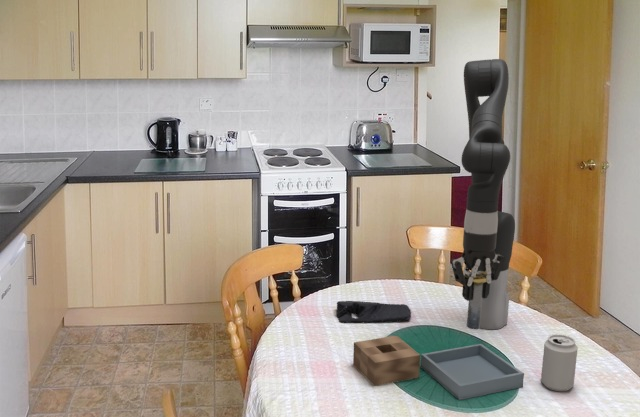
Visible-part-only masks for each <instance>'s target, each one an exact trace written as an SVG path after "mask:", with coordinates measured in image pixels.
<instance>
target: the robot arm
mask: <svg viewBox="0 0 640 417" xmlns="http://www.w3.org/2000/svg"><path fill="white" fill-rule="evenodd" d="M509 81H510V78H509V69H508V65H507V61H505V60H504V59H501V58H494V59H480V60H470V61H467V62H466V63H465V65H464V68H463V83H464V84H463V85H464V86H463V87H464V95H465V100H466V101H465V103H466V110H467V121H468V137H469V138H468V141H467V142H466V144H465V146H464V147H463V151H462V152H461V153H462V155H461V165H462V168H463V169H464V170H465V171H466V172H467V173H470V175H471V184H470V185H469V186H468V189H467V195H466V196H467V197H466V210H465V215H464V221H463V237H462V249H463V251H462V254H461V257H459V258H451V260H450V264H451V267H452V271H453V272H452V273H453V276H454V280H455V282H457V283H459V284H460V285H462V292H461V296H462V298H463V299H464V300H466V301H467V302H469V301H470V300H471V296H472V286H471V285H472V282H473V278H474V277H475V276H476V274H481V275H484V276H485V277H486V278H487V280H486V282H485V283H483V292H482V304H481V316H480V328H479V329H483V330H484V329H485V330H498V329H501V328H503V327H504V326H507V325H508V320H509V319H508V317H509V307H510V305H509V304H510V293H509V292H508V281H509V280H508V279H509V270H510V267H509V266H510V262H511V260H512V259H511V258H512V254H513V247H514V246H513V245H514V239H515V232H516V231H515V230H516V222H515V217H514V216H513V215H512V214H511V213H508V212H503V211H500V210H498V209H499V198H500V191H501V186H502V183H503V180H504V177H505V175H506V172H507V169H508V168H509V164H510V161H511V151H510V149H509V148H508V146H507V145H506V144H505V141H504V139H503V116H504V115H503V114H504V109H505V105H506V101H507V95H508V91H509V90H508V89H509ZM480 97H481V98H483V97H487V98H486V99H485V100H484V101H483V102H482V103H481V102H480V100H479V99H480Z"/></svg>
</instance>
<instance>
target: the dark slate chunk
mask: <svg viewBox="0 0 640 417" xmlns="http://www.w3.org/2000/svg"><path fill="white" fill-rule="evenodd" d="M352 315H357V316H356V318H355V317H352ZM411 317H412V311H411V309H410V307H409V306H408V305H407V304H404V303H402V304H398V303H396V304H395V303H393V304H391V303H382V302H381V303H380V302H374V301H372V302H371V301H361V300H359V301H358V300H342V301H341V300H339V301H337V302H336V318H337V319H338V322H340V323H343V322H344V324H347V323H355V324H356V323H359V324H362V323H363V322H364V323H363V324H365V323H369V324H370V323H386V322H387V323H390V322H391V323H392V322H393V323H394V322H395V323H396V322H403V321H406V320H407V321H408V320H410V318H411Z"/></svg>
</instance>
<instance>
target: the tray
mask: <svg viewBox="0 0 640 417" xmlns="http://www.w3.org/2000/svg"><path fill="white" fill-rule="evenodd" d="M420 368H421V369H422V368H423V369H424V371H425V373H427V374H428V375H429V376H430V375H431V376H430V377H432V378H433V379H434V380H435V381H436V382H437V383H439V384H440V385H441V386H442V387H443V388H445V390H446V391H448V392H449V393H450V394H452V395H453V396H454V397H455V398H456V399H457V400H459V401H462V400H467V399H472V398H476V397H481V396H485V395H486V396H487V395H490V394H491V395H492V394H495V393H501V392H505V391H510V390H514V389H520V388H523V387H524V378H525V373H524V372H522V371H521V370H520V369H518V368H517V367H516V366H514V365H512V363H510V362H508V361H507V360H505V359H504V358H502V357H501V356H500V355H498V354H497V353H496V352H494V351H492V350H491V349H490V348H488V347H487V346H485V345H484V344H482V343H475V344H471V345H466V346H460V347H455V348H449V349H444V350H443V349H442V350H436V351H432V352H427V353H421V354H420ZM423 369H422V370H423Z"/></svg>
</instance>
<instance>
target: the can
mask: <svg viewBox="0 0 640 417" xmlns="http://www.w3.org/2000/svg"><path fill="white" fill-rule="evenodd" d="M576 342H577V341H576V340H575V339H574V338H573V337H572V336H570V335H566V334H560V333H559V334H558V333H556V334H551V335H549V336H548V337H547V340H545V341H544V346H543V353H542V355H543V356H542V366H541V373H540V374H541V377H540V381H541V383H542V384H543V385H544V386H545V387H546V388H547V389H549V390H551V391H554V392H555V391H556V392H567V391H569V390H570V389H572V388H573V387H574V386H575V385H574V384H575V376H576V375H575V374H576V368H577V366H576V364H577V360H578V359H577V358H578V348H579V347H578V345H577V344H576Z"/></svg>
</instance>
